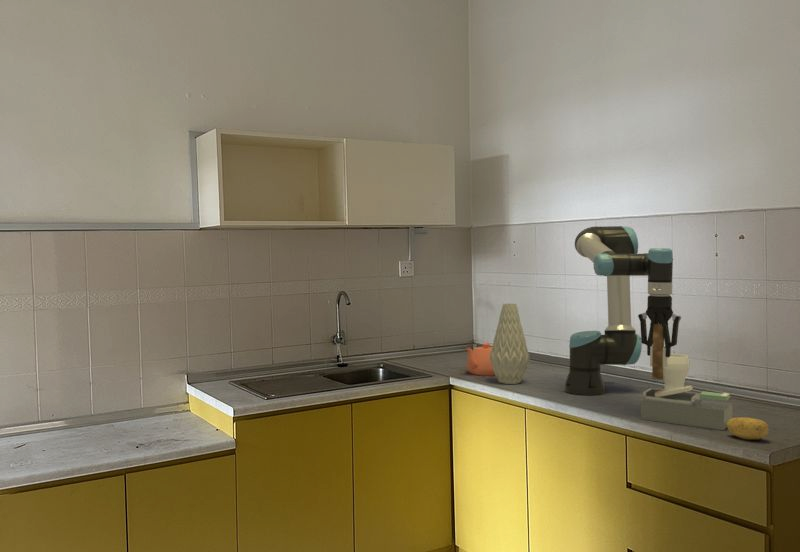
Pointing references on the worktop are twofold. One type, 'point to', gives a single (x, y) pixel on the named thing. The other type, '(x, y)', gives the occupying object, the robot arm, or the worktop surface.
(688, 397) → the grey storage bin
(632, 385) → the worktop surface
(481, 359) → the teapot
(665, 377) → the cup
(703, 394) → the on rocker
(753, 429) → the potato
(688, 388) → the rocker
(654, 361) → the brown rounded rod
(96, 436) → the worktop surface
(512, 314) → the vase
